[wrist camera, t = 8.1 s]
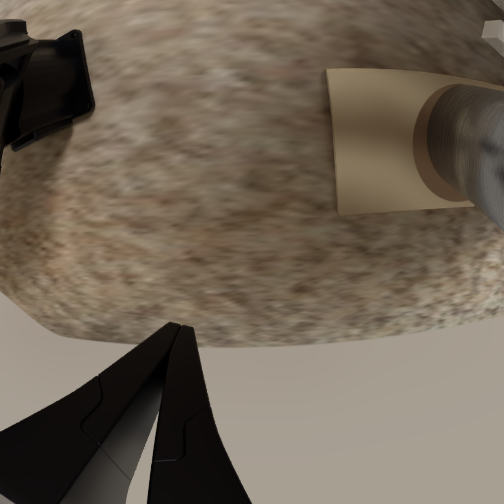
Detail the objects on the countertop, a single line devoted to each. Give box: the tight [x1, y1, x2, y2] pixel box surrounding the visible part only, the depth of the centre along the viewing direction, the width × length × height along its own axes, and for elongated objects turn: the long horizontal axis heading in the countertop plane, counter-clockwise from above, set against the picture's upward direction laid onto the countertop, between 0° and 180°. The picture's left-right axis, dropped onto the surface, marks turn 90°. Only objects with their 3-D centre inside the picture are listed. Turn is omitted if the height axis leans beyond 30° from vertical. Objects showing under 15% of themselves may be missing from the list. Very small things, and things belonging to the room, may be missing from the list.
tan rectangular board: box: [325, 68, 504, 216], centre depth 16 cm, size 10×14×1 cm, turn 99°
